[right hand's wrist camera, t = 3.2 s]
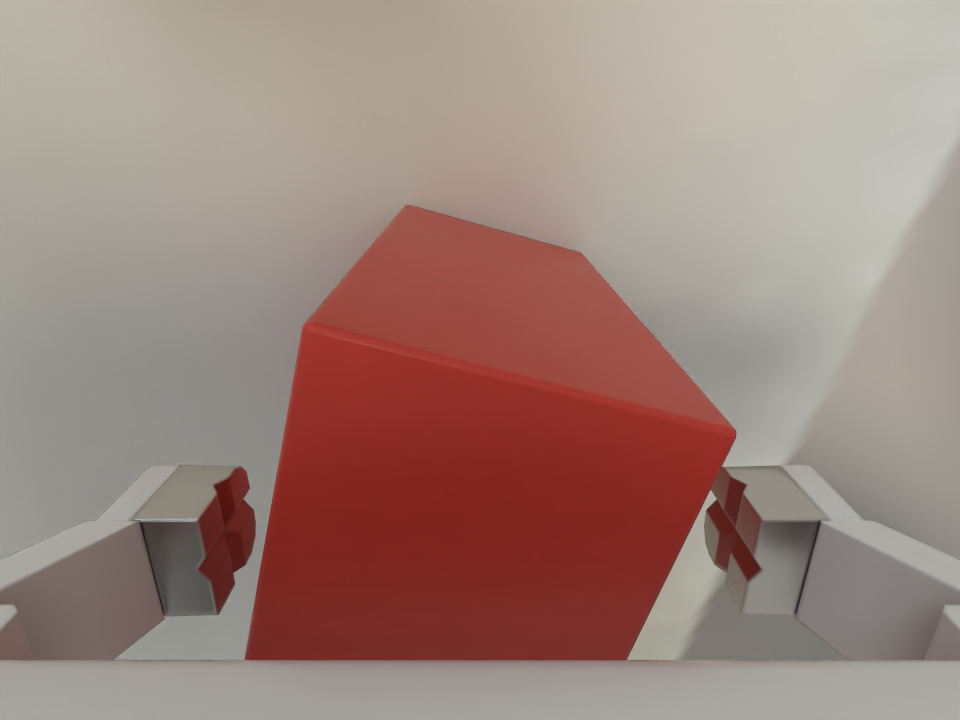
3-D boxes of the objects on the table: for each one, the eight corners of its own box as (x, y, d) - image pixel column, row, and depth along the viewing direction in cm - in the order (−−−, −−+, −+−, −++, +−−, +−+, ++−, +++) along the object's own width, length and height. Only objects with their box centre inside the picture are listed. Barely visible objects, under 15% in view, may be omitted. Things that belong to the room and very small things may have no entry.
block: (583, 252, 17) (743, 432, 7) (512, 459, 19) (555, 809, 9) (405, 203, 16) (302, 321, 6) (356, 423, 19) (226, 754, 9)
